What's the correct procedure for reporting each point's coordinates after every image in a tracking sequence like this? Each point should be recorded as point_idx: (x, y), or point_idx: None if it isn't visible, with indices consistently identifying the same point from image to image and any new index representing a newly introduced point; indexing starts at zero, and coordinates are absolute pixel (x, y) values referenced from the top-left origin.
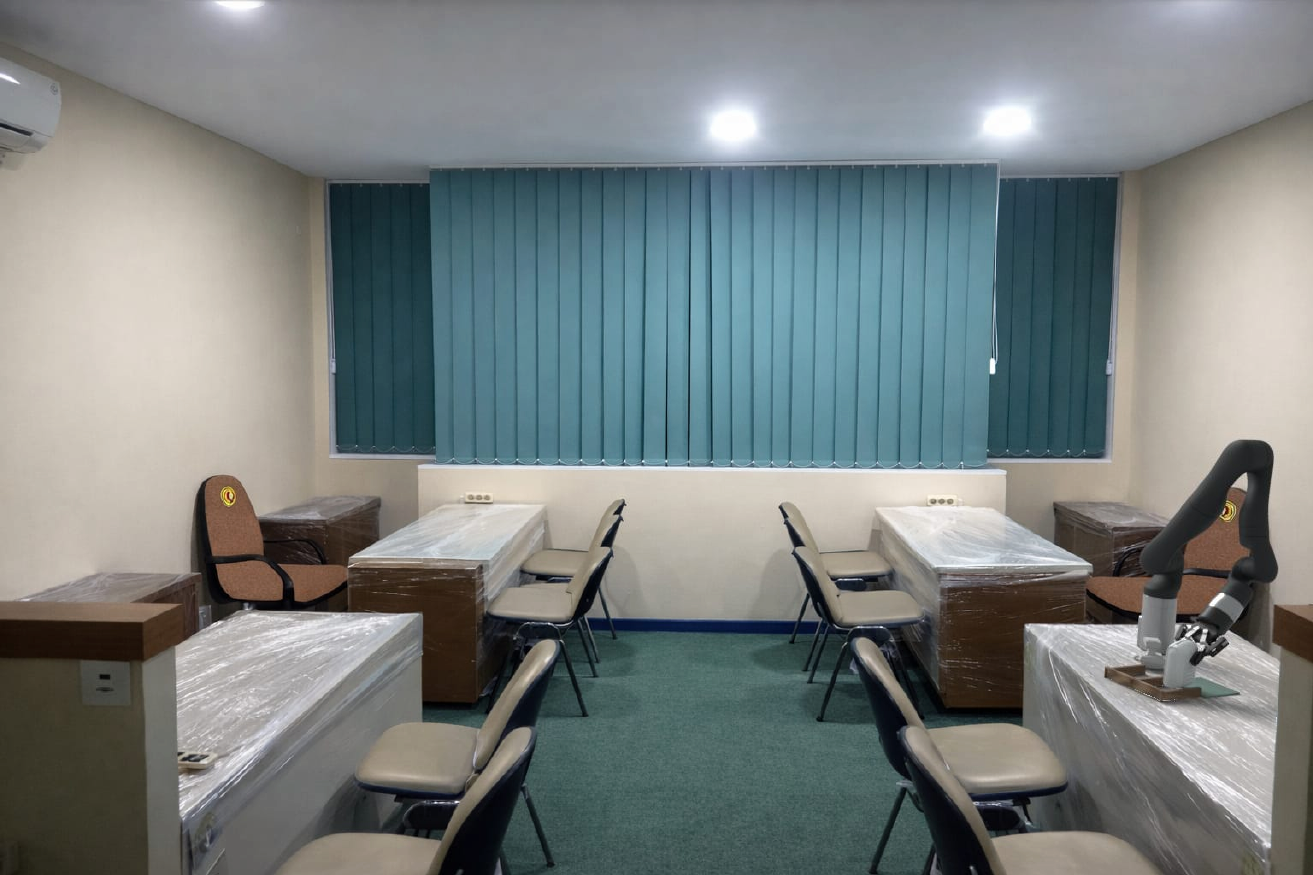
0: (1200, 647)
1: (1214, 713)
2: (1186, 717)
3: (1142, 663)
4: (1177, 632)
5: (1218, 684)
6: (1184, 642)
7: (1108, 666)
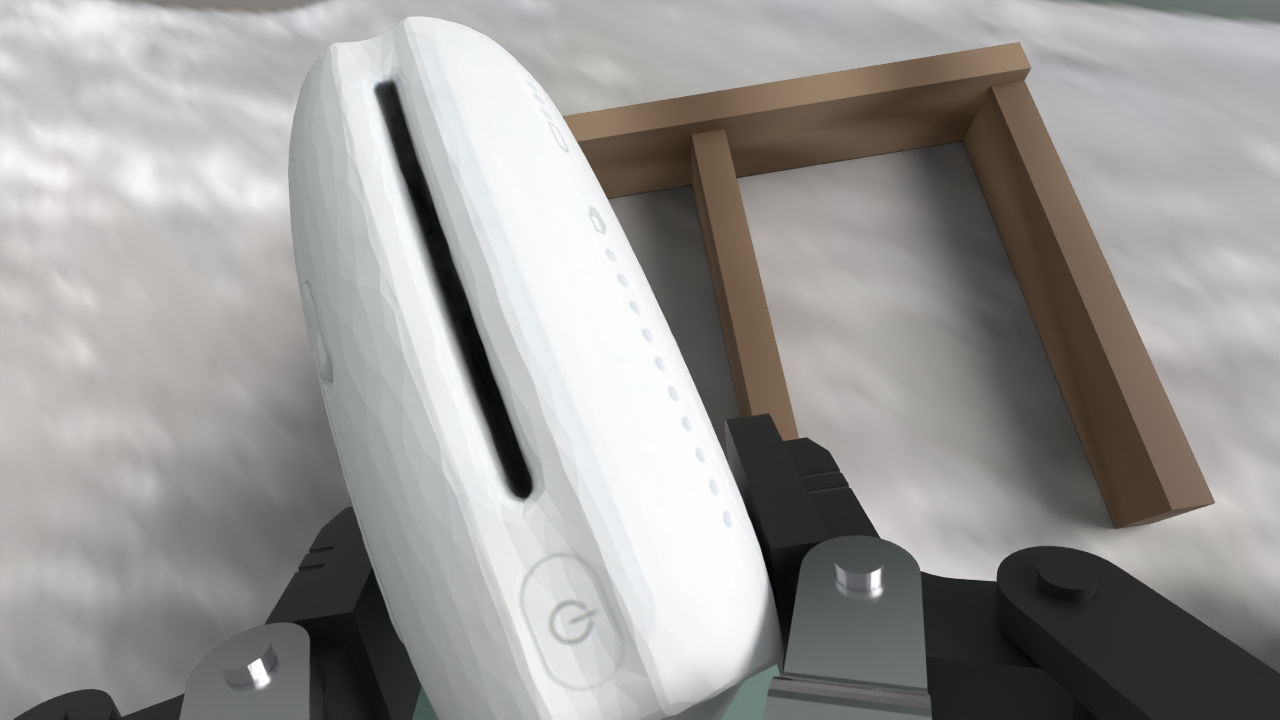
0: (279, 688)
1: (112, 456)
2: (144, 197)
3: None
4: None
5: None
6: (353, 234)
7: (1022, 69)
